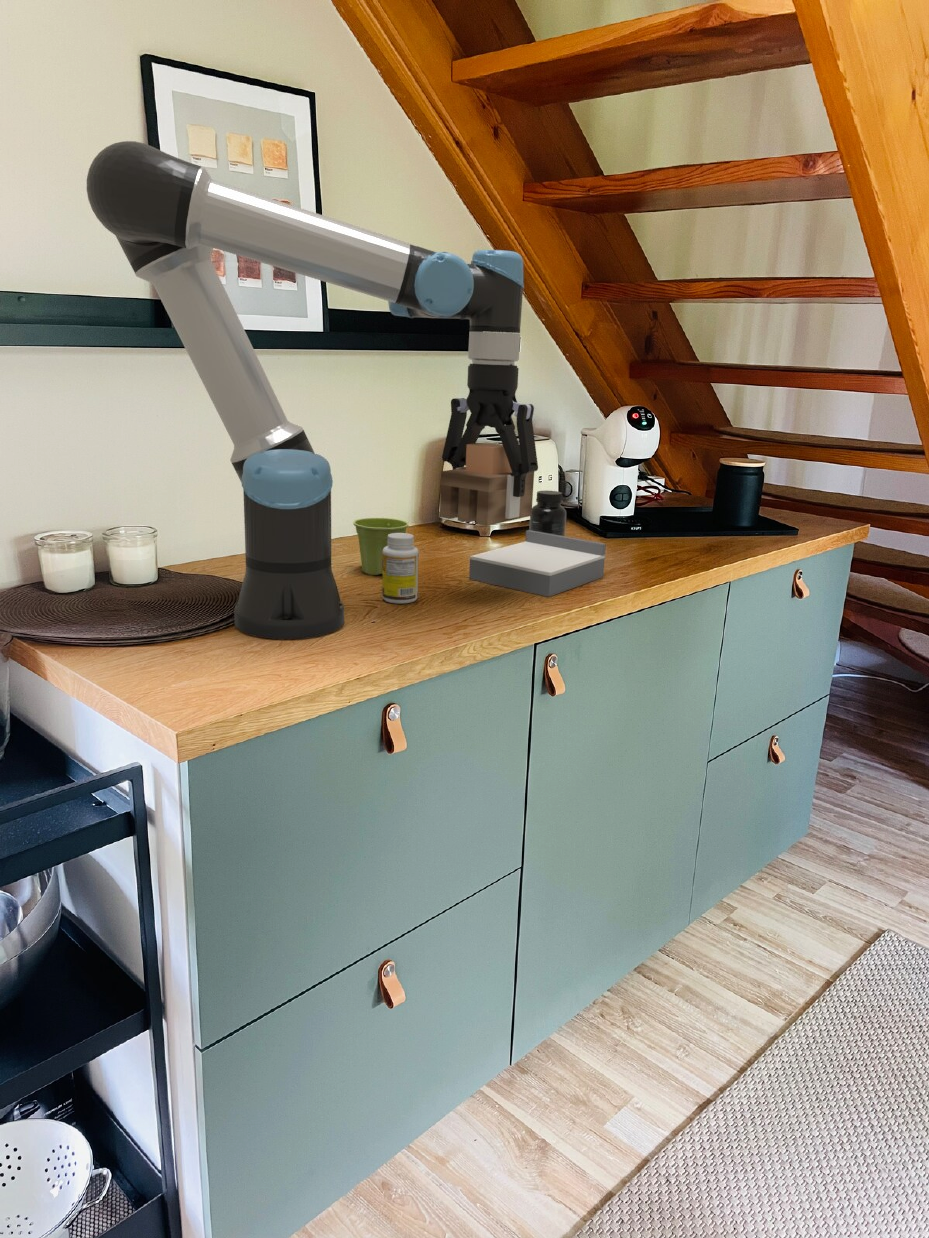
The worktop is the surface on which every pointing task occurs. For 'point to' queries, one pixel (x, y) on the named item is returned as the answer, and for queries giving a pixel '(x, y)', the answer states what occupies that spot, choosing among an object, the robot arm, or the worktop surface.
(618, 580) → the worktop surface
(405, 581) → the supplement bottle
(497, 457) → the terracotta orange block
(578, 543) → the platform
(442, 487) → the pallet
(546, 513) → the supplement bottle
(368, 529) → the plant pot
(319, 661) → the worktop surface
